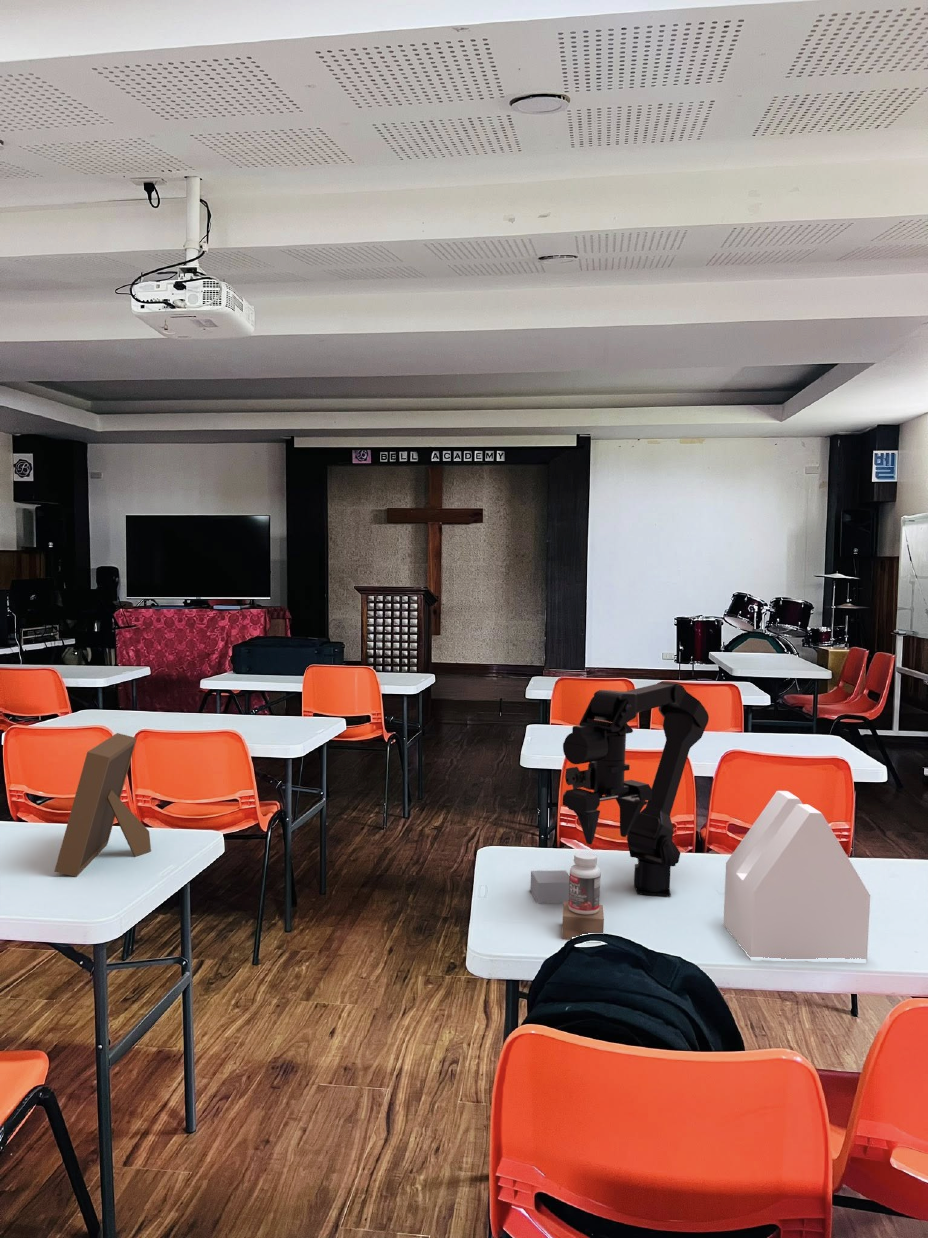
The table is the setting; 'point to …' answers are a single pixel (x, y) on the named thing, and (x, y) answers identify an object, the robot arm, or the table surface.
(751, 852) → the pinkish house shaped block
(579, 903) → the pill bottle
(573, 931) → the walnut block
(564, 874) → the grey block
